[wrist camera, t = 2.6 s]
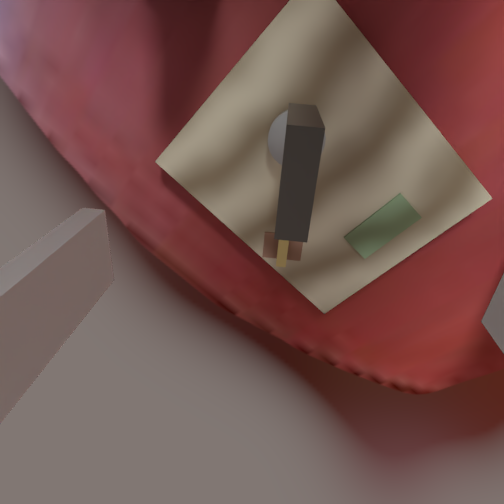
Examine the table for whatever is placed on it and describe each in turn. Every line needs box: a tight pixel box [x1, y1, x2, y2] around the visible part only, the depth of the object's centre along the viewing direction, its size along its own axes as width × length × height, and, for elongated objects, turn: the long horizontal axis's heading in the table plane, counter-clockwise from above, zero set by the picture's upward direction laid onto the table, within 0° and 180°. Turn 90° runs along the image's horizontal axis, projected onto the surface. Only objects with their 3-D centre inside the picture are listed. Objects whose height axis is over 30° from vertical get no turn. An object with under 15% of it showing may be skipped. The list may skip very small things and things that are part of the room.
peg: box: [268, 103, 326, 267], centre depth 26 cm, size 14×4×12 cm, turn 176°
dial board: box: [155, 0, 492, 314], centre depth 32 cm, size 22×18×2 cm
